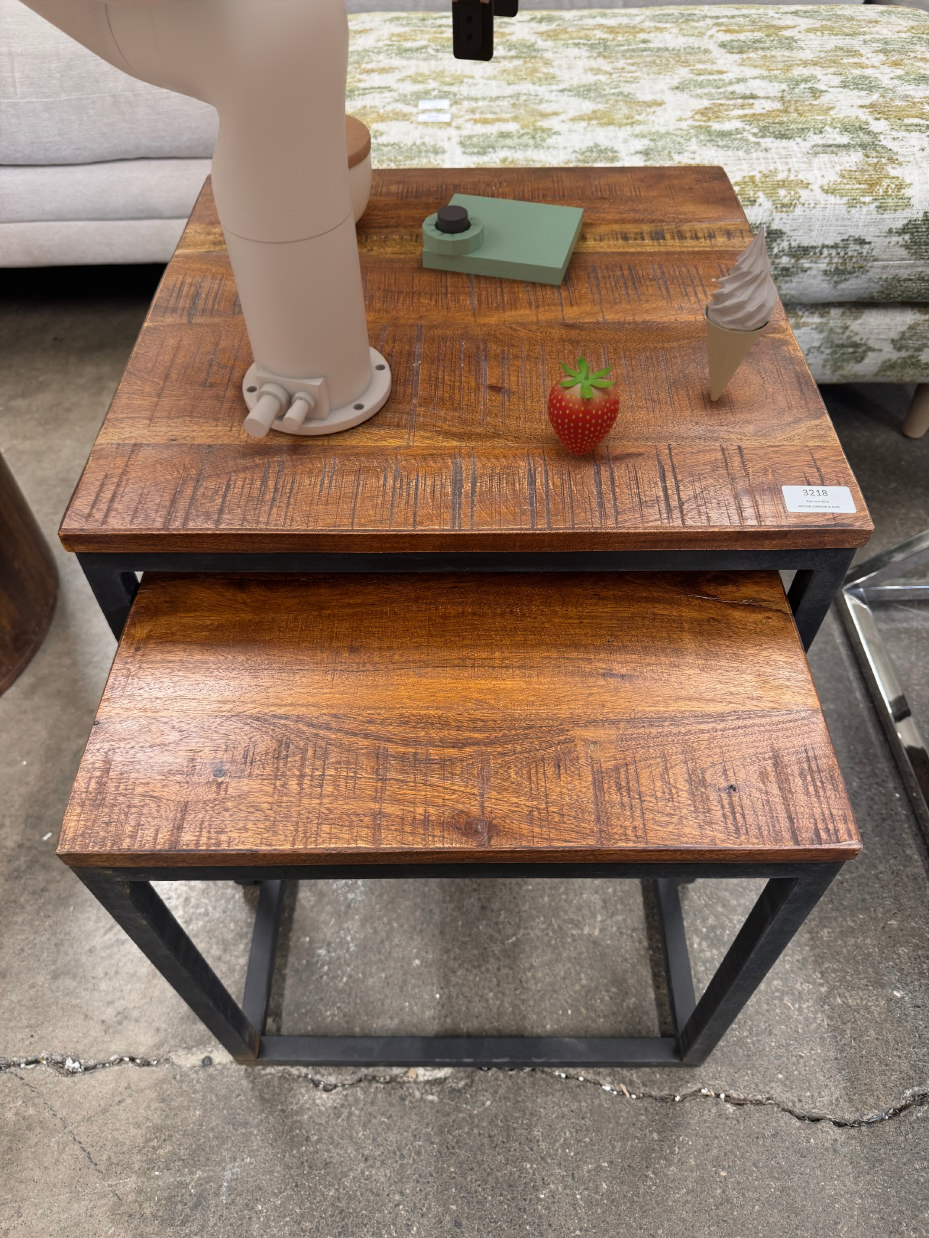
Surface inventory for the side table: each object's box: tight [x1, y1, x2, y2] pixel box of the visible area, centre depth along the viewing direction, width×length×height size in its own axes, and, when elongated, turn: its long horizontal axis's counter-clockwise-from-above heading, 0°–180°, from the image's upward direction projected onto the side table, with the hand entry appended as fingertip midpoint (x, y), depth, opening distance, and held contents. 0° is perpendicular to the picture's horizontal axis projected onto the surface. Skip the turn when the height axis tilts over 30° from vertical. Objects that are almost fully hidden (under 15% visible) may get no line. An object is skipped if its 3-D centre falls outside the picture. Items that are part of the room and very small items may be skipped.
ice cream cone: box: [703, 225, 779, 402], centre depth 65 cm, size 5×5×15 cm
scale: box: [421, 193, 585, 286], centre depth 86 cm, size 12×14×4 cm
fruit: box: [547, 356, 620, 456], centre depth 65 cm, size 5×5×8 cm
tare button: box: [436, 205, 468, 234], centre depth 83 cm, size 3×3×2 cm
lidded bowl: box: [345, 114, 373, 225], centre depth 85 cm, size 13×13×11 cm
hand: (487, 36), depth 71 cm, fingers open, 9 cm apart
